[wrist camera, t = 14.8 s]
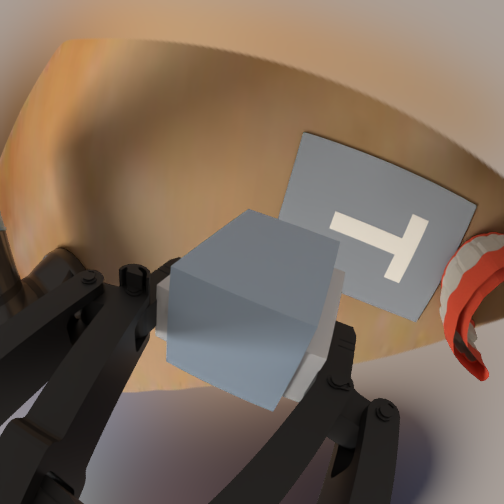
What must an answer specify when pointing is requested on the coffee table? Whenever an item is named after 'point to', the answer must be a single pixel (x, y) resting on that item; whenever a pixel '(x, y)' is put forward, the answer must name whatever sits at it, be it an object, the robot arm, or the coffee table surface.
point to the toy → (470, 295)
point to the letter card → (376, 223)
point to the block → (249, 305)
